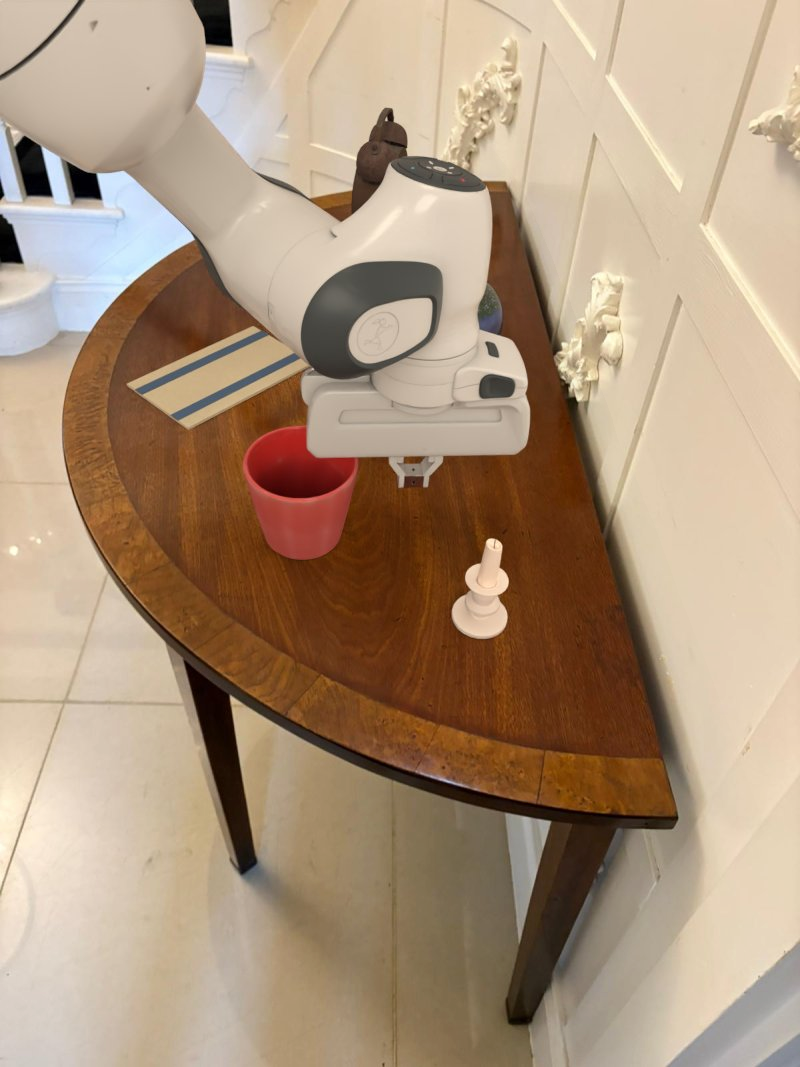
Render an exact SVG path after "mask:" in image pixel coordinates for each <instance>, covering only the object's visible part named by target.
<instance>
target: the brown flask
mask: <svg viewBox="0 0 800 1067" xmlns="http://www.w3.org/2000/svg"><path fill="white" fill-rule="evenodd" d="M394 115H395V114H394V109H393V108H392V107H384V108H383V109H382V110H381V112H380V113H379V115H378V118H377V120H376V124H374V125H373V127H372V128H371V130H370V133H369V136H368V141H366V142H364V143H363V144H362V145H361V147H359V150H358V151H357V154H356V160H355V167H356V168H355V173H354V178H353V183H352V190H351V204H350V206H351V207H350V208H351V210H350V212H351V215H352V214H354V213H355V212H356V211H357V210H358V209H359V208H361V207H362V206H363V205H364V204H365V203H366V202H367V201H368V200H369V199H370V197H371V196H372V195H373V194H374V193H375V191H376V190H377V189H378V188H379V186H380V185H381V183H382V181H383V179H384V176H385V173H386V170H387V168H388V165H389V164H390V163H391V162H392V161H393V160H395V159H399V158H402V157H406V156H409V155H408V151H407V148H408V145H409V144H408V134H407V131H406V129H405V128H404V127H403V126H402V125H401V124H400V123H398V122H395V116H394Z"/></svg>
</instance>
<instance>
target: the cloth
mask: <svg viewBox="0 0 800 1067" xmlns="http://www.w3.org/2000/svg"><path fill="white" fill-rule="evenodd" d="M308 368H310V366H309V365H308V364H307V363H305V362H304V361H303V360H302V359H301V358H300V357H299V356H297V355H296V354H295V353H294V352H293V351H292V350H291V349H289V348H288V347H287V346H286V345H285V344H284V343H282V342H281V341H280V340H279V339H276V337H273V336H271V335H270V334H269V333H267V332H266V331H264V330H262V329H259V328H258V327H256V326H255V325H252V326H250V327H247V328H246V329H243V330H240V331H239V332H237V333H234V334H232V335H230V336H228V337H226V338H224V339H222V340H219V341H217V342H214V343H213V344H211V345H208V346H206V347H204V348H202V349H200V350H198V351H195V352H193V353H191V354H188V355H186V356H184V357H182V358H180V359H178V360H176V361H173V362H170V363H169V364H166V365H165V366H162V367H160V368H158V369H155V370H153V371H151V372H149V373H147V374H145V375H143V376H140V377H138V378H136V379H134V380H132V381H129V382H127V383H126V387H128V388H129V389H130V390H132V391H133V392H134V393H136V394H137V395H138V396H140V397H141V398H142V399H144V400H146V401H147V403H150V404H151V405H152V406H153V407H155V408H156V409H158V410H159V411H161V412H162V413H163V414H164V415H166V416H168V417H169V418H170V419H172V420H173V421H174V422H176V423H177V424H179V425H180V426H181V427H183V428H184V429H186V430H187V431H190V430H192V429H193V428H196V427H197V426H199V425H201V424H203V423H205V422H207V421H209V420H212V419H213V418H215V417H217V416H219V415H220V414H222V413H224V412H226V411H228V410H230V409H232V408H234V407H236V406H237V405H240V404H242V403H244V402H245V401H248V400H249V399H252V398H253V397H255V396H257V395H259V394H260V393H263V392H265V391H267V390H268V389H270V388H272V387H275V386H276V385H278V384H280V383H281V382H283V381H285V380H288V379H289V378H291V377H293V376H295V375H297V374H299V373H301V372H304V371H306V370H307V369H308Z"/></svg>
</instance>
